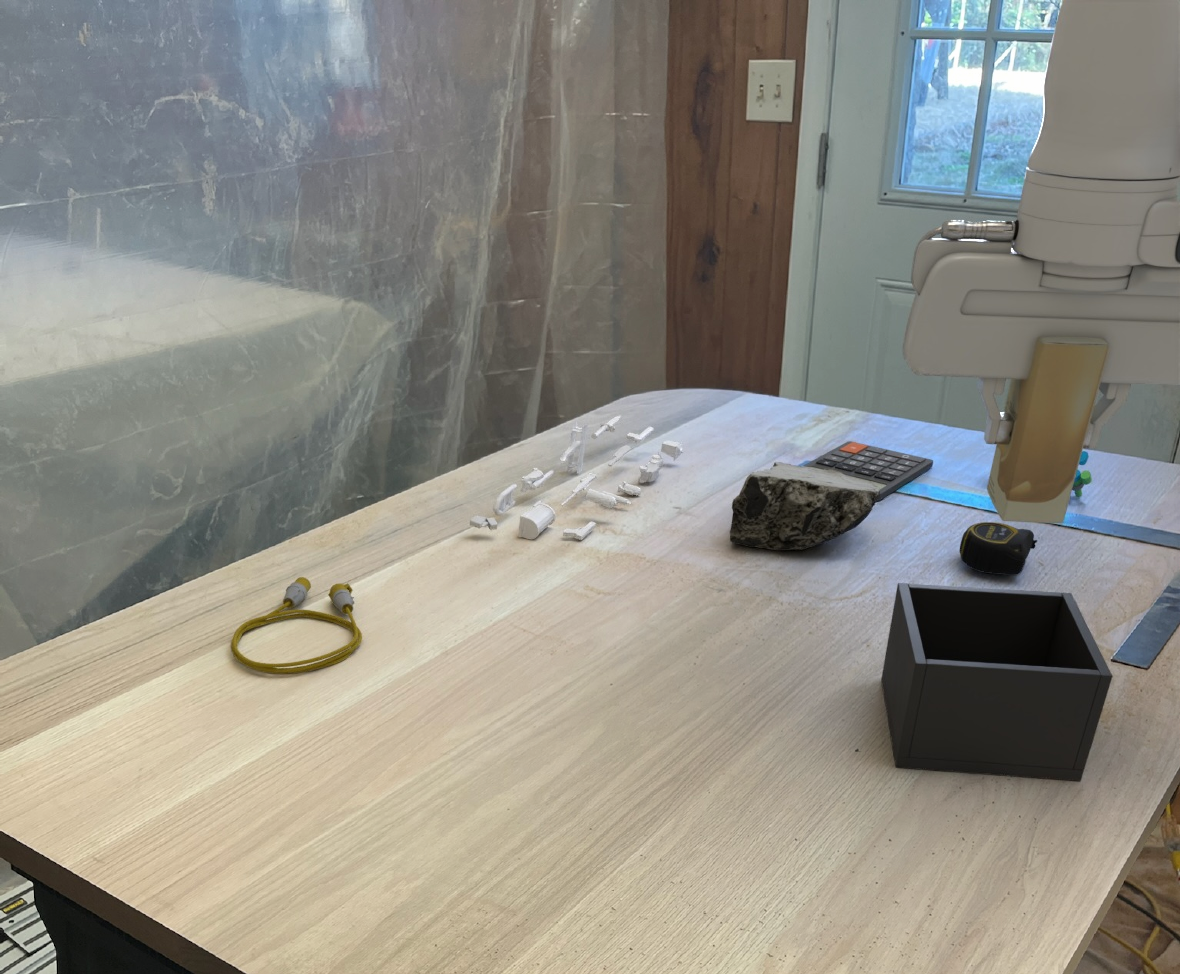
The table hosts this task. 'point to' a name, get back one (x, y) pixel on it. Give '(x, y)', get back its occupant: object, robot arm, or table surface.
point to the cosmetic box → (1047, 429)
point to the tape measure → (996, 548)
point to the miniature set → (545, 515)
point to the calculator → (873, 465)
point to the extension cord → (291, 599)
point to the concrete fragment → (798, 507)
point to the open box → (992, 682)
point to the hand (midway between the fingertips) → (1039, 444)
